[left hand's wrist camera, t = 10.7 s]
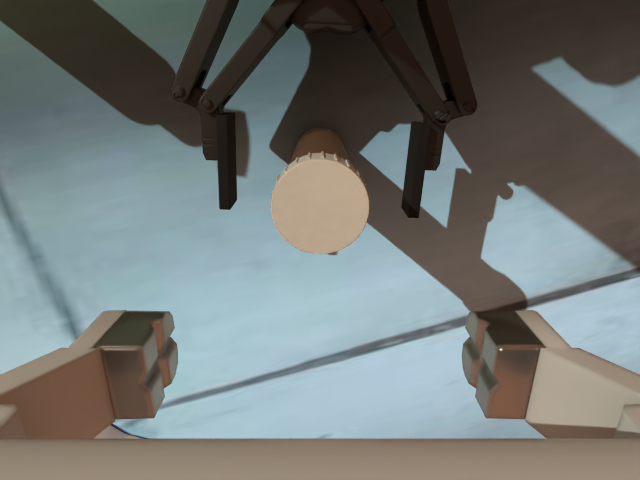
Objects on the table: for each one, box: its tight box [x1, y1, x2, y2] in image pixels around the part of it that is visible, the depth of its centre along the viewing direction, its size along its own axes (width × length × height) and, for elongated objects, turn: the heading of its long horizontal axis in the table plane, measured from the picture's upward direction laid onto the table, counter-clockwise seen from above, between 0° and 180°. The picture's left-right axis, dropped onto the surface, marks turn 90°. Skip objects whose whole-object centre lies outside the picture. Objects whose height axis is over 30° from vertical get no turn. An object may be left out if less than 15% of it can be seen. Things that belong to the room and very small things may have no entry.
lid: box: [270, 151, 370, 254], centre depth 21 cm, size 5×5×2 cm
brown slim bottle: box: [289, 127, 351, 165], centre depth 29 cm, size 4×4×17 cm
